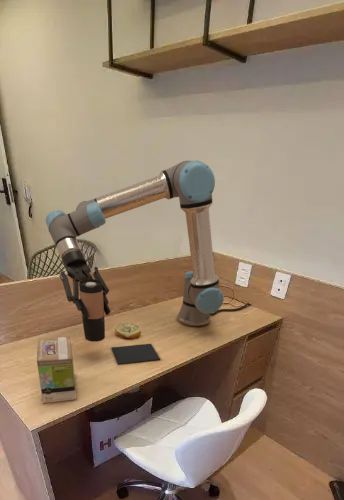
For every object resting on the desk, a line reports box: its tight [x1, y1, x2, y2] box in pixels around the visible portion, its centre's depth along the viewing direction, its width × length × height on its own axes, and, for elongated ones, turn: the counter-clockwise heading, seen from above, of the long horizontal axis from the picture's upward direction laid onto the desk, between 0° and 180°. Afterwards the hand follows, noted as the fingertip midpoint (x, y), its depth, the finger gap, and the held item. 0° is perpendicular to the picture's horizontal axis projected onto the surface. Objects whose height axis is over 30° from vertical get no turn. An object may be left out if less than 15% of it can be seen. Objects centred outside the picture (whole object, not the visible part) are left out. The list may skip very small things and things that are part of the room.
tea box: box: [36, 336, 77, 404], centre depth 105 cm, size 15×10×15 cm, turn 17°
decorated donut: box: [114, 322, 142, 340], centre depth 144 cm, size 10×11×4 cm
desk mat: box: [111, 343, 161, 366], centre depth 130 cm, size 16×13×1 cm
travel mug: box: [78, 278, 106, 343], centre depth 117 cm, size 8×8×20 cm
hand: (97, 315), depth 115 cm, fingers closed on travel mug, 7 cm apart
